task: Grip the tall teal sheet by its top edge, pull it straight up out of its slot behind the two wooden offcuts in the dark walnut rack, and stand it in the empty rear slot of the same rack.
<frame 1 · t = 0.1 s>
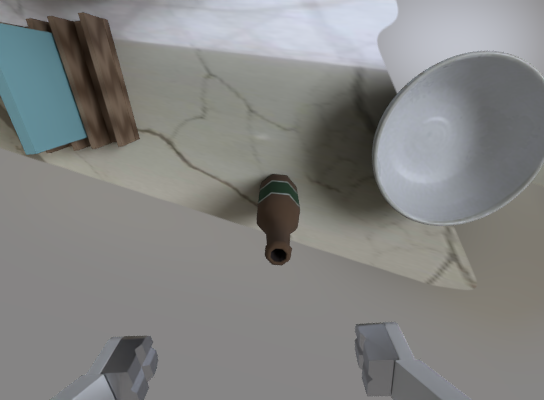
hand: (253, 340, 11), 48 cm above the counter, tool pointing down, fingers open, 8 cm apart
decorative bowl: (424, 134, 56), on the counter
beer bottle: (277, 189, 61), on the counter
tall sheet: (82, 87, 52), point 1 cm above the counter, touching rack
rack: (87, 87, 53), on the counter
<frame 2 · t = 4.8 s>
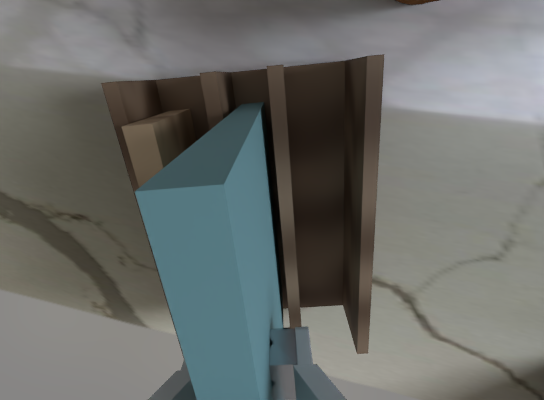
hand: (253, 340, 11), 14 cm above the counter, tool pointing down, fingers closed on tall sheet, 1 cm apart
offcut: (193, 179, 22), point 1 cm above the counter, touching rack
tall sheet: (264, 210, 23), point 2 cm above the counter, touching gripper, rack
rack: (265, 202, 24), on the counter
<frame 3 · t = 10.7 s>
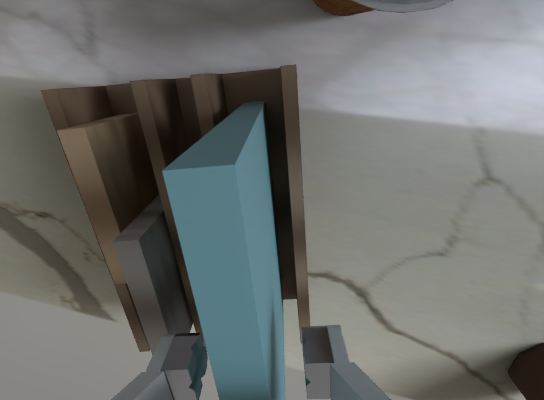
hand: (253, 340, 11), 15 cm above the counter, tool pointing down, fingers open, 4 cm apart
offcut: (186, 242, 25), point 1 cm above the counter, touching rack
beer bottle: (540, 363, 33), on the counter
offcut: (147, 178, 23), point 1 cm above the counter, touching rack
tall sheet: (265, 204, 24), point 2 cm above the counter, touching rack
rack: (219, 201, 25), on the counter
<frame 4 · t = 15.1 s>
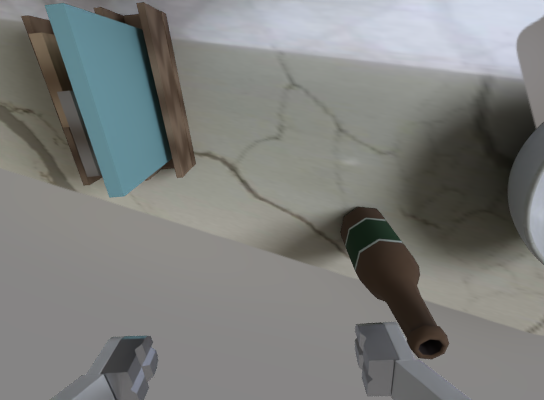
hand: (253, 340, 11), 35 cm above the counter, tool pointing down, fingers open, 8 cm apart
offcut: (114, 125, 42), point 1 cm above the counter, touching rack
beer bottle: (361, 224, 49), on the counter
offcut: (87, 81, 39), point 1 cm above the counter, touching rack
tall sheet: (158, 98, 40), point 1 cm above the counter, touching rack
rack: (134, 100, 42), on the counter
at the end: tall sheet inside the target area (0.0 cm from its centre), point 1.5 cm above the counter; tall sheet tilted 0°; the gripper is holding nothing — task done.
